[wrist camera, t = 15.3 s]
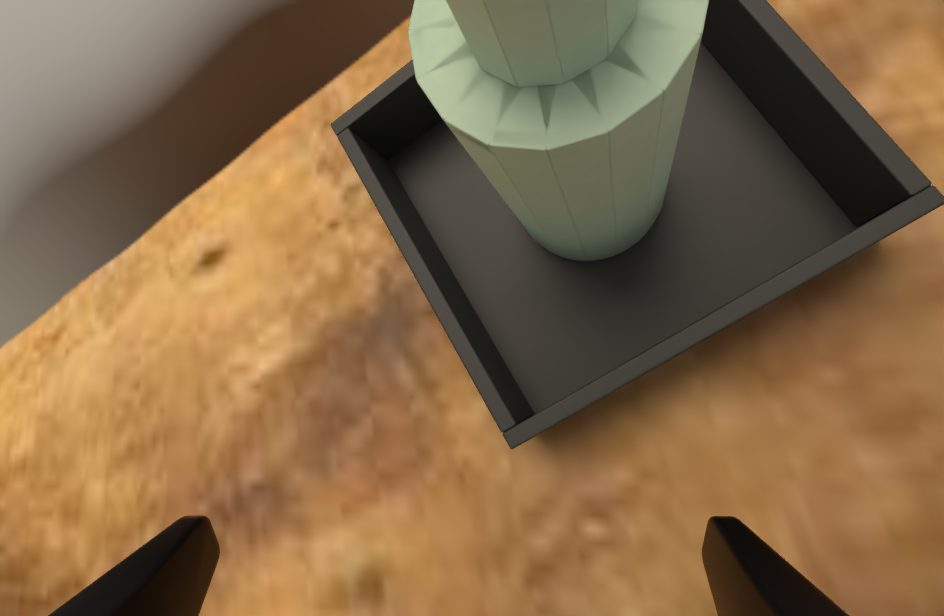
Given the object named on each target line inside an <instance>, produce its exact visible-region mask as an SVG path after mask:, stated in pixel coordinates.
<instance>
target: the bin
mask: <svg viewBox="0 0 944 616" xmlns="http://www.w3.org/2000/svg"><path fill="white" fill-rule="evenodd" d="M331 127H332V128H333V130H334V132H335V134H336V135H337V137H338V139H339V141H340V143H341V144H342V146H343V148H344V150H345V152H346V153H347V155H348V157H349V159H350V161H351V162H352V164H353V166H354V168H355V170H356V171H357V173H358V175H359V177H360V179H361V180H362V182H363V184H364V186H365V188H366V189H367V191H368V193H369V195H370V197H371V198H372V200H373V202H374V204H375V206H376V207H377V209H378V211H379V213H380V215H381V216H382V218H383V220H384V222H385V224H386V225H387V227H388V229H389V231H390V233H391V234H392V236H393V238H394V240H395V242H396V243H397V245H398V247H399V249H400V251H401V252H402V254H403V256H404V258H405V260H406V261H407V263H408V265H409V267H410V269H411V270H412V272H413V274H414V276H415V278H416V279H417V281H418V283H419V285H420V287H421V288H422V290H423V292H424V294H425V296H426V297H427V299H428V301H429V303H430V305H431V306H432V308H433V310H434V312H435V314H436V315H437V317H438V319H439V321H440V323H441V324H442V326H443V328H444V330H445V332H446V333H447V335H448V337H449V339H450V341H451V342H452V344H453V346H454V348H455V350H456V351H457V353H458V355H459V357H460V359H461V360H462V362H463V364H464V366H465V368H466V369H467V371H468V373H469V375H470V377H471V378H472V380H473V382H474V384H475V386H476V387H477V389H478V391H479V393H480V395H481V396H482V398H483V400H484V402H485V404H486V405H487V407H488V409H489V411H490V413H491V414H492V416H493V418H494V420H495V422H496V423H497V425H498V427H499V429H500V431H501V432H504V433H503V436H504V438H505V440H506V441H507V443H508V445H509V447H510V448H511V449H514V448H515V447H517V446H519V445H521V444H522V443H524V442H526V441H528V440H529V439H531V438H533V437H535V436H536V435H538V434H540V433H542V432H544V431H545V430H547V429H549V428H551V427H552V426H554V425H556V424H558V423H559V422H561V421H563V420H565V419H566V418H568V417H570V416H572V415H573V414H575V413H577V412H579V411H581V410H582V409H584V408H586V407H588V406H589V405H591V404H593V403H595V402H596V401H598V400H600V399H602V398H603V397H605V396H607V395H609V394H610V393H612V392H614V391H616V390H618V389H619V388H621V387H623V386H625V385H626V384H628V383H630V382H632V381H633V380H635V379H637V378H639V377H640V376H642V375H644V374H646V373H647V372H649V371H651V370H653V369H654V368H656V367H658V366H660V365H662V364H663V363H665V362H667V361H669V360H670V359H672V358H674V357H676V356H677V355H679V354H681V353H683V352H684V351H686V350H688V349H690V348H691V347H693V346H695V345H697V344H699V343H700V342H702V341H704V340H706V339H707V338H709V337H711V336H713V335H714V334H716V333H718V332H720V331H721V330H723V329H725V328H727V327H728V326H730V325H732V324H734V323H736V322H737V321H739V320H741V319H743V318H744V317H746V316H748V315H750V314H751V313H753V312H755V311H757V310H758V309H760V308H762V307H764V306H765V305H767V304H769V303H771V302H772V301H774V300H776V299H778V298H780V297H781V296H783V295H785V294H787V293H788V292H790V291H792V290H794V289H795V288H797V287H799V286H801V285H802V284H804V283H806V282H808V281H809V280H811V279H813V278H815V277H817V276H818V275H820V274H822V273H824V272H825V271H827V270H829V269H831V268H832V267H834V266H836V265H838V264H839V263H841V262H843V261H845V260H846V259H848V258H850V257H852V256H853V255H855V254H857V253H859V252H861V251H862V250H864V249H866V248H868V247H869V246H871V245H873V244H875V243H876V242H878V241H880V240H882V239H883V238H885V237H887V236H889V235H890V234H892V233H894V232H896V231H898V230H899V229H901V228H903V227H905V226H906V225H908V224H910V223H912V222H913V221H915V220H917V219H919V218H920V217H922V216H924V215H926V214H927V213H929V212H931V211H933V210H935V209H936V208H938V207H940V206H942V205H943V204H944V196H943V195H942V194H941V193H940V192H939V191H938V190H937V189H936V187H935V186H930V185H931V182H930V181H929V180H928V178H927V177H926V176H925V175H924V174H923V173H922V172H921V171H920V170H919V169H918V167H917V166H916V165H915V164H914V163H913V162H912V161H911V160H910V159H909V158H908V156H907V155H906V154H905V153H904V152H903V151H902V150H901V149H900V148H899V146H898V145H897V144H896V143H895V142H894V141H893V140H892V139H891V138H890V137H889V135H888V134H887V133H886V132H885V131H884V130H883V129H882V128H881V127H880V126H879V124H878V123H877V122H876V121H875V120H874V119H873V118H872V117H871V116H870V115H869V113H868V112H867V111H866V110H865V109H864V108H863V107H862V106H861V105H860V103H859V102H858V101H857V100H856V99H855V98H854V97H853V96H852V95H851V94H850V92H849V91H848V90H847V89H846V88H845V87H844V86H843V85H842V84H841V83H840V81H839V80H838V79H837V78H836V77H835V76H834V75H833V74H832V73H831V71H830V70H829V69H828V68H827V67H826V66H825V65H824V64H823V63H822V62H821V60H820V59H819V58H818V57H817V56H816V55H815V54H814V53H813V52H812V51H811V49H810V48H809V47H808V46H807V45H806V44H805V43H804V42H803V41H802V39H801V38H800V37H799V36H798V35H797V34H796V33H795V32H794V31H793V30H792V28H791V27H790V26H789V25H788V24H787V23H786V22H785V21H784V20H783V19H782V17H781V16H780V15H779V14H778V13H777V12H776V11H775V10H774V9H773V8H772V6H771V5H770V4H769V3H768V2H767V1H766V0H709V3H708V8H707V13H706V19H705V24H704V29H703V34H702V38H701V42H700V47H699V51H698V55H697V60H696V64H695V68H694V72H693V77H692V81H691V85H690V89H689V94H688V98H687V102H686V107H685V111H684V115H683V119H682V124H681V128H680V132H679V137H678V141H677V145H676V149H675V154H674V158H673V162H672V167H671V171H670V175H669V179H668V184H667V188H666V192H665V196H664V201H663V205H662V209H661V211H660V213H659V214H658V216H657V218H656V220H655V222H654V223H653V225H652V227H651V228H650V229H649V231H648V232H647V233H646V234H645V235H644V236H643V237H642V238H641V239H640V240H639V241H638V242H637V243H635V244H634V245H633V246H632V247H630V248H628V249H627V250H625V251H623V252H622V253H619V254H617V255H615V256H612V257H609V258H605V259H601V260H595V261H577V260H571V259H566V258H563V257H560V256H558V255H555V254H553V253H551V252H550V251H548V250H546V249H545V248H544V247H542V246H541V245H540V244H539V243H537V242H536V241H535V240H534V239H533V238H532V237H531V235H530V234H529V233H528V231H527V230H526V229H525V227H524V226H523V225H522V224H521V222H520V221H519V220H518V218H517V217H516V216H515V214H514V213H513V212H512V210H511V209H510V208H509V206H508V205H507V204H506V202H505V201H504V200H503V198H502V197H501V196H500V194H499V193H498V192H497V190H496V189H495V188H494V187H493V185H492V184H491V183H490V181H489V180H488V179H487V177H486V176H485V175H484V173H483V172H482V171H481V169H480V168H479V167H478V165H477V164H476V163H475V161H474V160H473V159H472V157H471V156H470V155H469V153H468V152H467V151H466V150H465V148H464V147H463V146H462V144H461V143H460V142H459V140H458V139H457V138H456V136H455V135H454V134H453V132H452V131H451V130H450V128H449V127H448V126H447V124H446V123H445V122H444V120H443V119H442V118H441V116H440V115H439V113H438V112H437V110H436V109H435V107H434V106H433V105H432V103H431V102H430V100H429V99H428V97H427V96H426V94H425V93H424V91H423V90H422V89H421V87H420V86H419V84H418V83H417V80H416V77H415V71H414V65H413V60H411V61H410V62H409V63H408V64H406V65H405V66H404V67H403V68H401V69H400V70H399V71H397V72H396V73H395V74H394V75H392V76H391V77H390V78H389V79H387V80H386V81H385V82H383V83H382V84H381V85H380V86H378V87H377V88H376V89H375V90H373V91H372V92H371V93H370V94H368V95H367V96H366V97H364V98H363V99H362V100H361V101H359V102H358V103H357V104H356V105H354V106H353V107H352V108H351V109H349V110H348V111H347V112H345V113H344V114H343V115H342V116H340V117H339V118H338V119H337V120H335V121H334V122H333V123H331Z"/></svg>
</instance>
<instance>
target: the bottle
mask: <svg viewBox="0 0 944 616" xmlns="http://www.w3.org/2000/svg"><path fill="white" fill-rule="evenodd" d="M708 3H709V0H415V2H414V6H413V10H412V15H411V20H410V24H409V29H408V30H409V31H408V35H409V41H410V47H411V53H412V59H413V65H414V71H415V77H416V80H417V83H418V84H419V86H420V87H421V89H422V90H423V91H424V93H425V94H426V96H427V97H428V99H429V100H430V102H431V103H432V105H433V106H434V107H435V109H436V110H437V112H438V113H439V115H440V116H441V118H442V119H443V120H444V122H445V123H446V124H447V126H448V127H449V128H450V130H451V131H452V132H453V134H454V135H455V136H456V138H457V139H458V140H459V142H460V143H461V144H462V146H463V147H464V148H465V150H466V151H467V152H468V153H469V155H470V156H471V157H472V159H473V160H474V161H475V163H476V164H477V165H478V167H479V168H480V169H481V171H482V172H483V173H484V175H485V176H486V177H487V179H488V180H489V181H490V183H491V184H492V185H493V187H494V188H495V189H496V190H497V192H498V193H499V194H500V196H501V197H502V198H503V200H504V201H505V202H506V204H507V205H508V206H509V208H510V209H511V210H512V212H513V213H514V214H515V216H516V217H517V218H518V220H519V221H520V222H521V224H522V225H523V226H524V227H525V229H526V230H527V231H528V233H529V234H530V235H531V237H532V238H533V239H534V240H535V241H536V242H537V243H539V244H540V245H541V246H542V247H544V248H545V249H546V250H548V251H550V252H551V253H553V254H555V255H558V256H560V257H563V258H566V259H571V260H577V261H595V260H601V259H605V258H609V257H612V256H615V255H617V254H619V253H622V252H623V251H625V250H627V249H628V248H630V247H632V246H633V245H634V244H635V243H637V242H638V241H639V240H640V239H641V238H642V237H643V236H644V235H645V234H646V233H647V232H648V231H649V229H650V228H651V227H652V225H653V223H654V222H655V220H656V218H657V216H658V214H659V213H660V211H661V209H662V205H663V201H664V196H665V192H666V188H667V184H668V179H669V175H670V171H671V167H672V162H673V158H674V154H675V149H676V145H677V141H678V137H679V132H680V128H681V124H682V119H683V115H684V111H685V107H686V102H687V98H688V94H689V89H690V85H691V81H692V77H693V72H694V68H695V64H696V60H697V55H698V51H699V47H700V42H701V38H702V34H703V29H704V24H705V19H706V13H707V8H708Z"/></svg>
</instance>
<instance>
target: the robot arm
mask: <svg viewBox="0 0 944 616" xmlns="http://www.w3.org/2000/svg"><path fill="white" fill-rule="evenodd" d="M219 554H220V548H219V543H218V541H217V538H216V535H215V533H214V530H213V527H212V525H211V522H210V520H209V519H208V518H207V517H206V516H184V517H182V518H180V519H178V520H177V521H176V522H174V523H173V524H172V525H170V526H169V527H167V528H166V529H165V530H163V531H162V532H161V533H159V534H158V535H157V536H155V537H154V538H153V539H151V540H150V541H149V542H147V543H146V544H144V545H143V546H142V547H140V548H139V549H138V550H136V551H135V552H134V553H132V554H131V555H130V556H128V557H127V558H126V559H124V560H123V561H122V562H120V563H119V564H117V565H116V566H115V567H113V568H112V569H111V570H109V571H108V572H107V573H105V574H104V575H103V576H101V577H100V578H99V579H97V580H96V581H94V582H93V583H92V584H90V585H89V586H88V587H86V588H85V589H84V590H82V591H81V592H80V593H78V594H77V595H76V596H74V597H73V598H71V599H70V600H69V601H67V602H66V603H65V604H63V605H62V606H61V607H59V608H58V609H57V610H55V611H54V612H53V613H51V614H50V615H48V616H198V615H199V613H200V610H201V607H202V604H203V601H204V599H205V596H206V593H207V590H208V588H209V585H210V582H211V579H212V576H213V574H214V571H215V568H216V565H217V562H218V559H219ZM702 558H703V563H704V567H705V571H706V574H707V578H708V581H709V585H710V588H711V592H712V595H713V599H714V603H715V606H716V610H717V613H718V616H849V615H848V614H846V613H845V612H844V611H843V610H842V609H841V608H840V607H838V606H837V605H836V604H835V603H834V602H833V601H832V600H830V599H829V598H828V597H827V596H826V595H825V594H824V593H822V592H821V591H820V590H819V589H818V588H817V587H816V586H814V585H813V584H812V583H811V582H810V581H809V580H808V579H806V578H805V577H804V576H803V575H802V574H801V573H800V572H798V571H797V570H796V569H795V568H794V567H793V566H791V565H790V564H789V563H788V562H787V561H786V560H785V559H783V558H782V557H781V556H780V555H779V554H778V553H777V552H775V551H774V550H773V549H772V548H771V547H770V546H769V545H767V544H766V543H765V542H764V541H763V540H762V539H761V538H759V537H758V536H757V535H756V534H755V533H754V532H753V531H751V530H750V529H749V528H748V527H747V526H746V525H745V524H743V523H742V522H741V521H740V520H739V519H737V518H735V517H731V516H713V517H711V518H710V519H709V521H708V524H707V528H706V533H705V538H704V542H703V547H702Z"/></svg>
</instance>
